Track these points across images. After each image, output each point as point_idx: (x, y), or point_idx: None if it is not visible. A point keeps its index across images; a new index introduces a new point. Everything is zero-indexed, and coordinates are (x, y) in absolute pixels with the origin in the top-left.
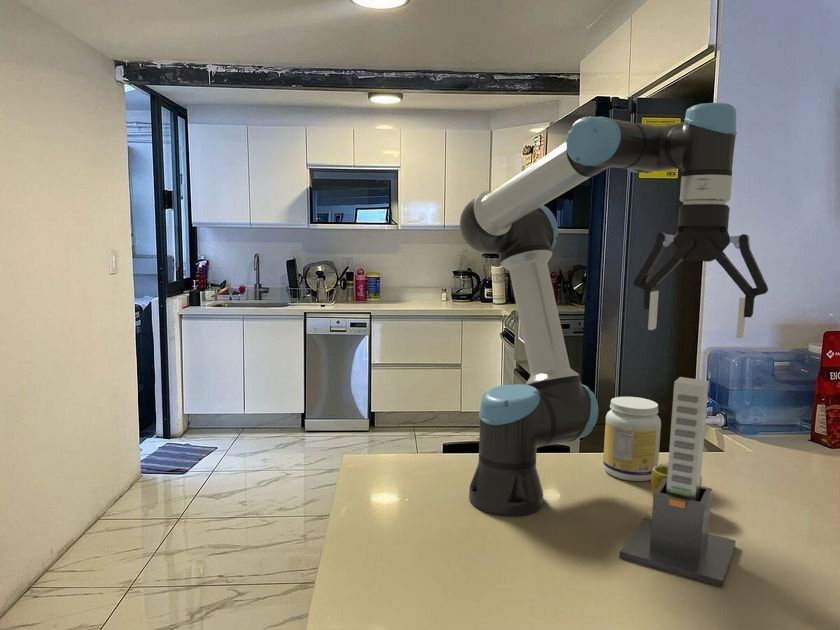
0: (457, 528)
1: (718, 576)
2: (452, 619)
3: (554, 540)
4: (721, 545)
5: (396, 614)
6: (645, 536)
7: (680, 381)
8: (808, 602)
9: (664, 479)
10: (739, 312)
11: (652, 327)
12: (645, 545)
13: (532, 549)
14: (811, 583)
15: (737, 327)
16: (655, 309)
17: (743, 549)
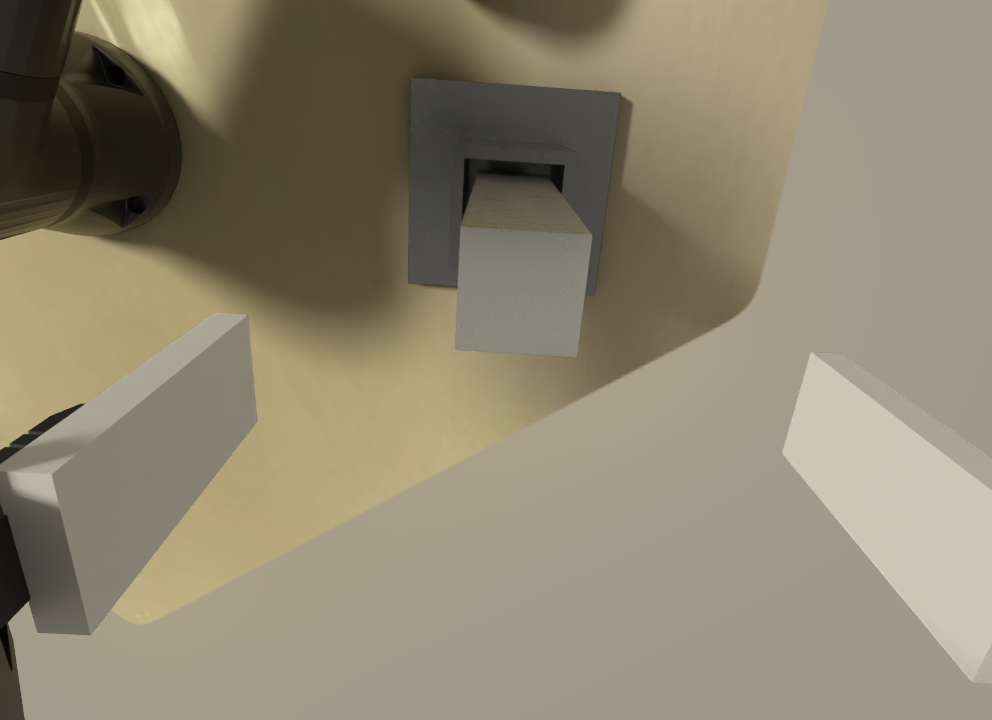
0: (98, 329)
1: (586, 284)
2: (265, 556)
3: (278, 275)
4: (591, 141)
5: (201, 578)
6: (438, 187)
7: (477, 327)
8: (729, 262)
9: (455, 153)
10: (886, 571)
11: (249, 430)
12: (446, 230)
13: (260, 332)
14: (749, 185)
15: (817, 492)
16: (183, 452)
17: (635, 96)
